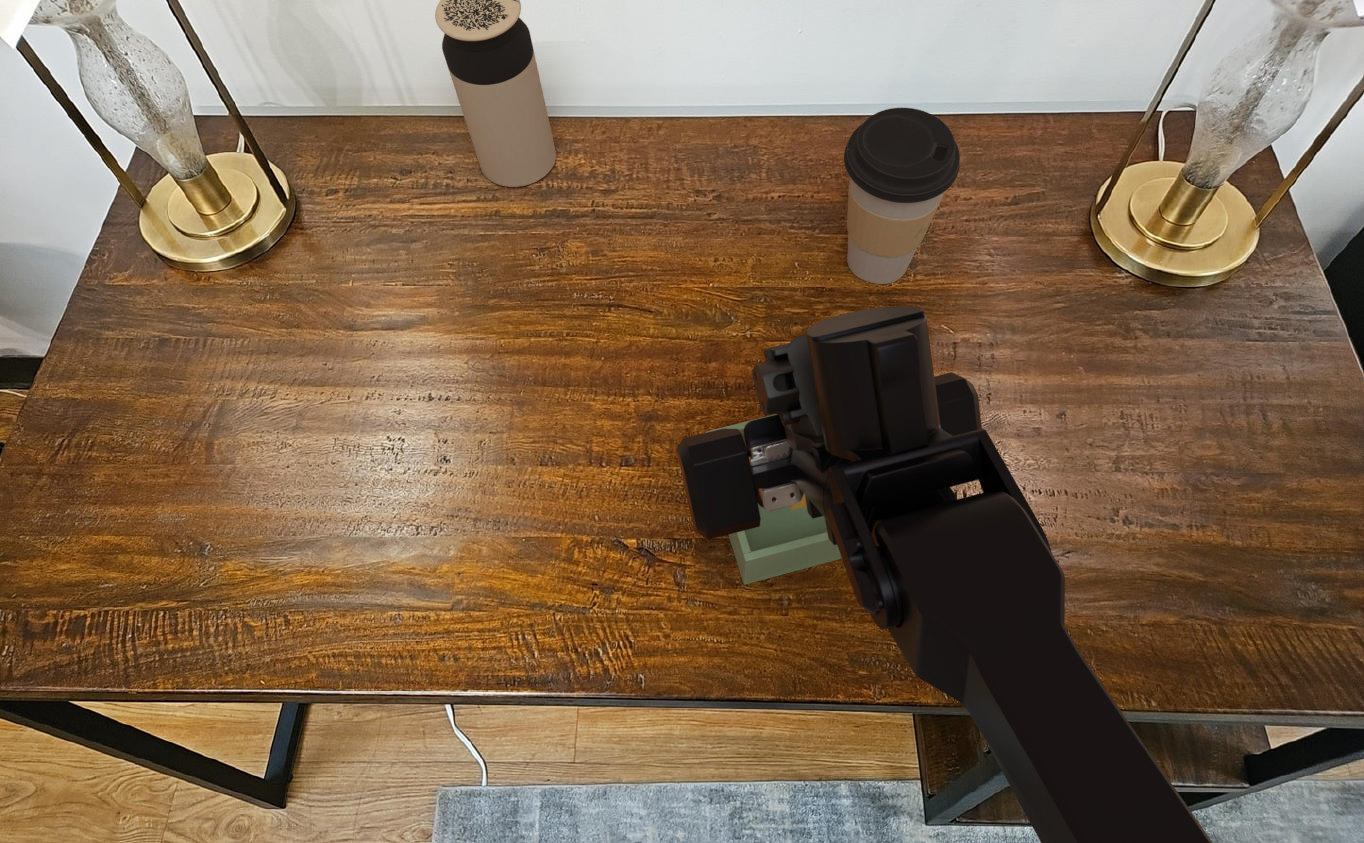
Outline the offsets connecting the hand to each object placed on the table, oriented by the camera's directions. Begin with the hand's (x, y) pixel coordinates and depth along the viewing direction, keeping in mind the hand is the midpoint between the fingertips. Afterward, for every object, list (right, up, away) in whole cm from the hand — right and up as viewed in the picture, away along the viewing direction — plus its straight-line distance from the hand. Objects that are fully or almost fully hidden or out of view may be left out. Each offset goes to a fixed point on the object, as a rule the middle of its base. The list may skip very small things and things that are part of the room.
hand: (795, 420), depth 63 cm
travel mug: (-25, +27, +30) cm, 47 cm away
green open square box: (+1, -7, +10) cm, 12 cm away
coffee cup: (+11, +15, +22) cm, 29 cm away
